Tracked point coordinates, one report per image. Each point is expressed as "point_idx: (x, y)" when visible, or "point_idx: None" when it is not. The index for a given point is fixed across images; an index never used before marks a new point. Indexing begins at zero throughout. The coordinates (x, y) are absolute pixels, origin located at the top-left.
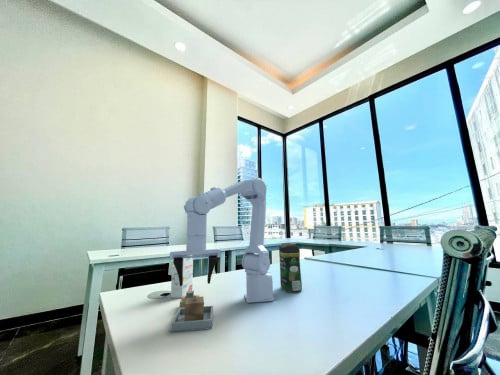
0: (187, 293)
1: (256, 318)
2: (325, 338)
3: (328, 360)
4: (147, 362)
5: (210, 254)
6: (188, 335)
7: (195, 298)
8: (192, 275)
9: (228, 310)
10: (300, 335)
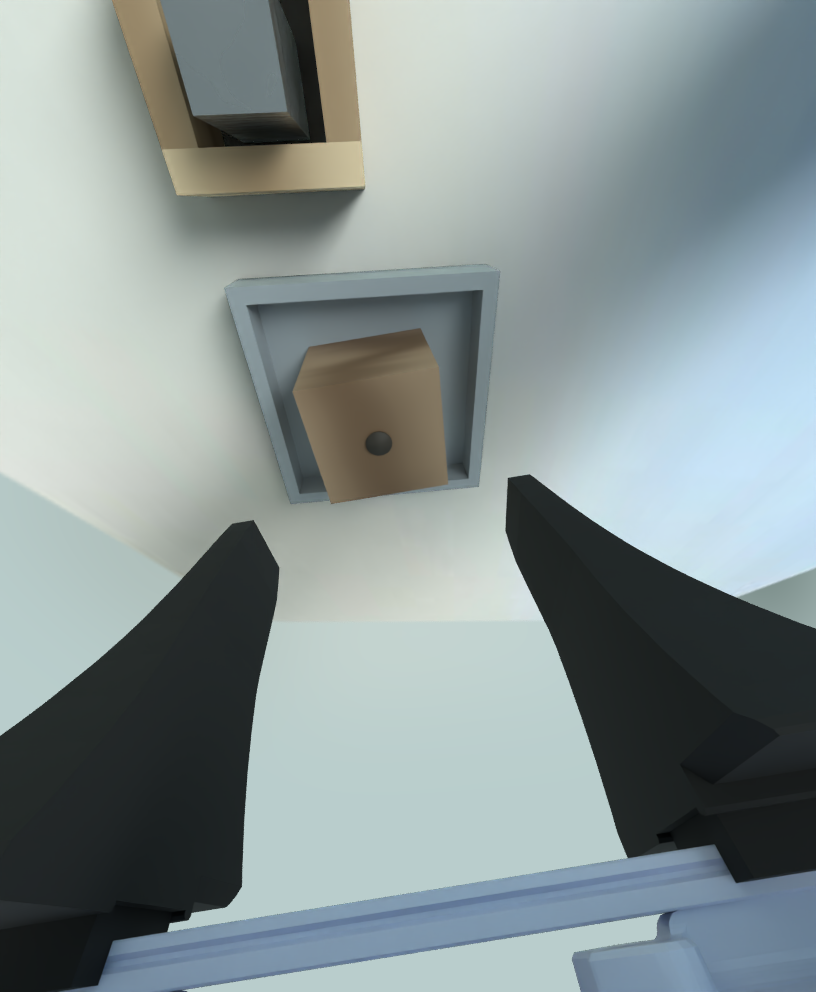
0: (210, 114)
1: (698, 389)
2: (788, 540)
3: None
4: (302, 604)
5: (759, 923)
6: (378, 505)
7: (377, 408)
8: None
9: (602, 233)
10: (742, 524)
